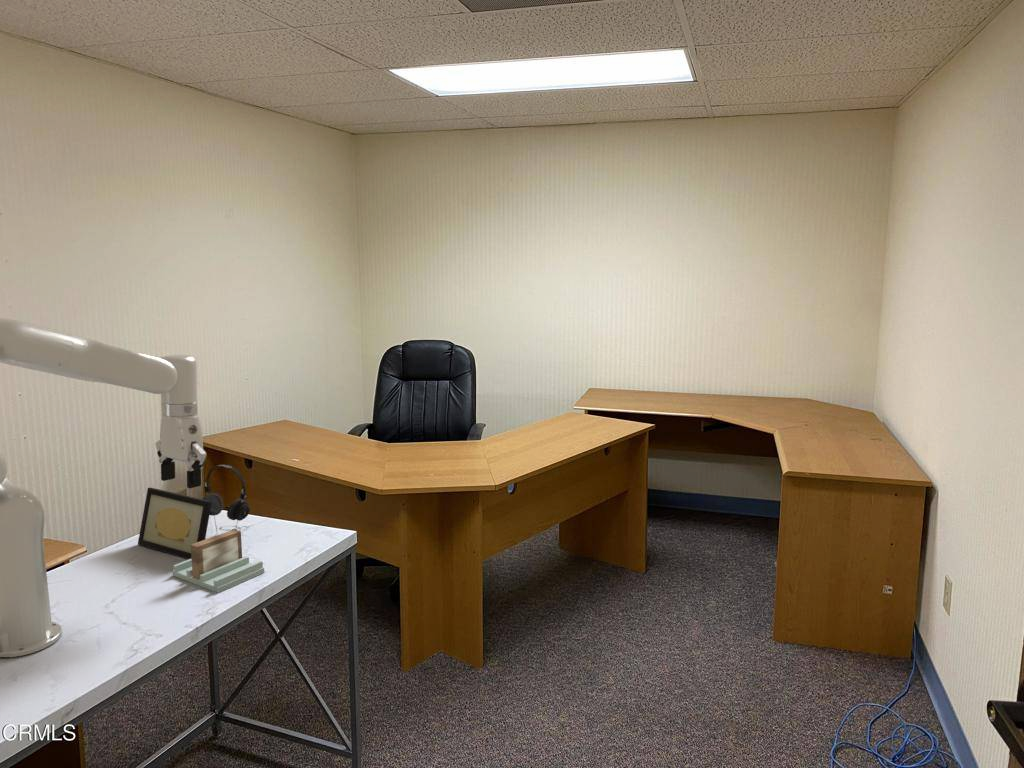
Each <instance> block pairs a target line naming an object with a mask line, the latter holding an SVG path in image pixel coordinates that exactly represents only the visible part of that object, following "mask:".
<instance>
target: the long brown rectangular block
mask: <svg viewBox="0 0 1024 768" xmlns="http://www.w3.org/2000/svg"><path fill="white" fill-rule="evenodd" d="M238 530H239V529H236V528H232V530H230V529H229V530H227V531H225V532H222V533H220V534H216V535H213V536H212V537H211V536H210V537H208V538H205V540H202V541H200V542H197V543H194V544H191V559H192V573H193V577H194V578H197V579H200V575H201V574H204V573H206V572H209V571H211V570H213V569H216V568H218V567H221V566H223V565H226V564H228V563H231V562H233V561H236V560H238V559H241V558H243V547H242V532H241V530H239V531H238Z"/></svg>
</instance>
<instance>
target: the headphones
mask: <svg viewBox="0 0 1024 768" xmlns="http://www.w3.org/2000/svg"><path fill="white" fill-rule="evenodd" d="M216 468H225V469H227V470H230V471H231V472H233V473H234V474H235V475H236V476H237V477H238V479H239V480H240V483H241V492H240V496H239V497H240V498H237V499H235V500H234V501H233V502H232V503H231V504H230V505H229V506H228V507H227V511H226V516H227V518H228V520H231V521H237V522H236V525H235V529H236V528H237V529H238V527H237V526H238V522H241V521H242V520H244V519H246V518H247V517H248V515H249V514H250V511H251V507H250V505H249V504H248V503H247V501H246V499H248V492H247V489H246V488H247V487H246V482H245V480H244V478H243V476H242V474H241V472H240V471H239V470H238V469H237V468H236V467H234V466H232V465H230V464H218V465H216V466H213V467H211V468H210V469H209V470H208V473H207V477H206V478H203V479H204V484H205V485H204V492H205V493H206V495H205V496H204V497H203V498H202V499H203V500H207V501H212V504H211V509H210V515H209V516H213V519H216V518H215V516H218V515H219V514H221V512H222V511H223V508H224V501H223V498H222V497H221V495H219V494H218V493H216V492H212V491H213V490H212V485H209V484H210V477H211V473H212V472H213V471H214V469H216ZM210 492H211V493H210ZM214 524H215V530H216V531H218V527H217V523H216V521H214Z"/></svg>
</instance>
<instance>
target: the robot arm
mask: <svg viewBox="0 0 1024 768" xmlns="http://www.w3.org/2000/svg"><path fill="white" fill-rule="evenodd" d="M0 363H2V364H5V365H9V366H13V367H18V368H23V369H28V370H32V371H37V372H43V373H45V374H46V373H47V374H51V375H52V374H53V375H55V376H61V377H66V378H69V379H74V380H75V379H76V380H79V381H84V382H92V383H93V382H94V383H101V384H107V385H113V386H117V387H121V388H122V387H123V388H127V389H132V390H137V391H141V392H144V393H145V392H146V393H151V394H154V395H160V412H161V414H160V416H161V418H160V427H159V440H158V441H156V442H155V448H156V450H157V457H158V458H159V460H158V462H159V464H160V480H161V481H163V482H166V481H170V480H174V479H175V478H176V461H179V462H184V463H185V465H186V467H187V470H186V487H187V488H188V489H192V488H193V489H194V488H198V487H201V486H202V470H203V466H204V464H205V461H206V458H207V452H206V451H205V450H204V442H203V441H204V440H203V431H202V425H201V420H200V417H199V416H198V372H197V371H198V369H197V368H198V366H197V359H196V358H195V357H194V356H191V355H187V354H186V355H185V354H171V355H165V356H152V355H147V354H145V353H144V354H143V353H142V352H141V353H140V352H136V351H133V350H128V349H124V348H120V347H116V346H113V345H110V344H107V343H104V342H102V341H101V342H100V341H98V340H94V339H91V338H87V337H83V336H80V335H76V334H72V333H67V332H64V331H61V330H60V331H59V330H56V329H51V328H48V327H44V326H40V325H37V324H34V323H33V324H32V323H29V322H25V321H21V320H17V319H11V318H3V317H0ZM174 460H175V461H174ZM192 462H193V463H192ZM7 473H8V465H7V461H6V459H5V457H4V456H3V454H2V452H0V657H10V658H17V656H18V657H21V656H27V655H30V654H33V653H37V652H39V651H41V650H44V649H46V648H48V647H49V646H51V645H53V644H54V643H56V642H57V641H58V640H59V639H60V638H61V637H62V634H63V631H62V629H63V628H62V626H61V625H60V624H59V623H57V622H54V621H52V612H51V604H50V603H51V602H50V593H49V584H48V576H47V565H46V557H45V547H44V545H45V544H44V532H45V510H44V506H43V504H42V502H41V501H40V499H39V498H38V497H37V496H36V495H35V494H34V493H32V492H31V491H29V490H27V489H26V488H23V487H21V486H17V485H16V484H14V483H12V482H11V481H10V480H9V478H8V477H7Z"/></svg>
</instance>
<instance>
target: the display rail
mask: <svg viewBox="0 0 1024 768" xmlns="http://www.w3.org/2000/svg"><path fill="white" fill-rule="evenodd" d="M264 573H265V567H264V565H263V561H261V560H257V561H255V562H253V563H250V557H249V556H244V557H243V556H242V558H241V559H238V560H236V561H233V562H231V563H228V564H226V565H223V566H221V567H218V568H216V569H213V570H211V571H209V572H206V573H204V574H201V575H200V579H197V578H194V577H193V573H192V559H187V560H184V561H181V562H178V563H176V564H174V565H173V570H172V576H173V577H176V578H179V579H181V580H183V581H187V582H189V583H191V584H195V585H197V586H200V587H202V588H205V589H207V590H210V591H213V592H215V593H218V594H219V593H221V592H223V591H226V590H228V589H231V588H232V587H235V586H238V585H239V584H242V583H244V582H246V581H248V580H251V579H253V578H255V577H258V576H260V575H262V574H264Z"/></svg>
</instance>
